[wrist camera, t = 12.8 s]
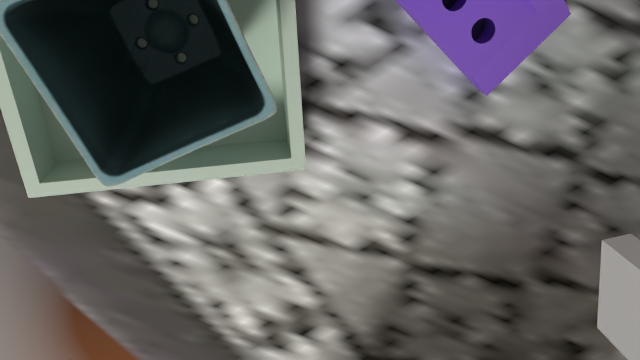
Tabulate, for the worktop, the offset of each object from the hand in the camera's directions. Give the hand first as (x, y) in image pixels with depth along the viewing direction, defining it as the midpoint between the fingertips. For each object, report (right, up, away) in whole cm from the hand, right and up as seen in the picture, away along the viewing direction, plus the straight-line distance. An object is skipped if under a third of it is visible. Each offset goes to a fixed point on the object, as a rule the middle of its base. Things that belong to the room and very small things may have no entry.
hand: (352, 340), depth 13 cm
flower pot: (-10, +13, +17) cm, 23 cm away
